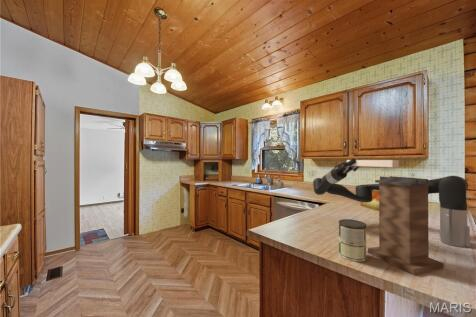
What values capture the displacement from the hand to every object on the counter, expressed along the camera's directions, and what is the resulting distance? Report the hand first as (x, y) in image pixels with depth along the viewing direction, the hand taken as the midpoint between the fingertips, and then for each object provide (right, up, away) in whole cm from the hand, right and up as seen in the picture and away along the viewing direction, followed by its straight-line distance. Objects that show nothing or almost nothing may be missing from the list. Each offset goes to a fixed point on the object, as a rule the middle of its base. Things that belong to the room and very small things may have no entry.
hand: (358, 160), depth 103 cm
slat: (+2, -3, -6) cm, 7 cm away
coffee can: (-12, -41, -17) cm, 46 cm away
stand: (+6, -40, -20) cm, 46 cm away
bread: (+58, -42, +71) cm, 101 cm away
